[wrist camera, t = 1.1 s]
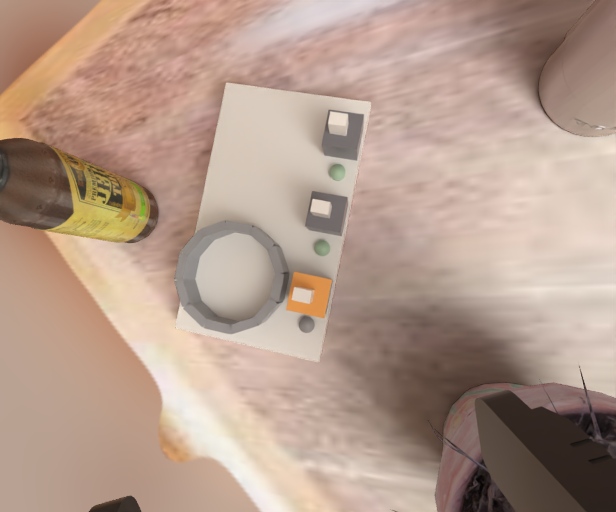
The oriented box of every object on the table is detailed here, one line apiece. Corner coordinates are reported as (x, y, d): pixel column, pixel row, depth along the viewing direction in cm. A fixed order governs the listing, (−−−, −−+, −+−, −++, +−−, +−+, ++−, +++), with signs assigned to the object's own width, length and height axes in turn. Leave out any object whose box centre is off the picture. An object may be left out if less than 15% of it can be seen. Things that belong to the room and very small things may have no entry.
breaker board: (233, 92, 37) (203, 49, 30) (370, 111, 35) (373, 70, 28) (184, 325, 37) (142, 337, 30) (320, 357, 35) (311, 379, 28)
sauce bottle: (173, 215, 38) (-29, 152, 18) (129, 256, 38) (-115, 237, 18) (136, 170, 38) (-97, 62, 19) (93, 210, 39) (-178, 146, 19)
